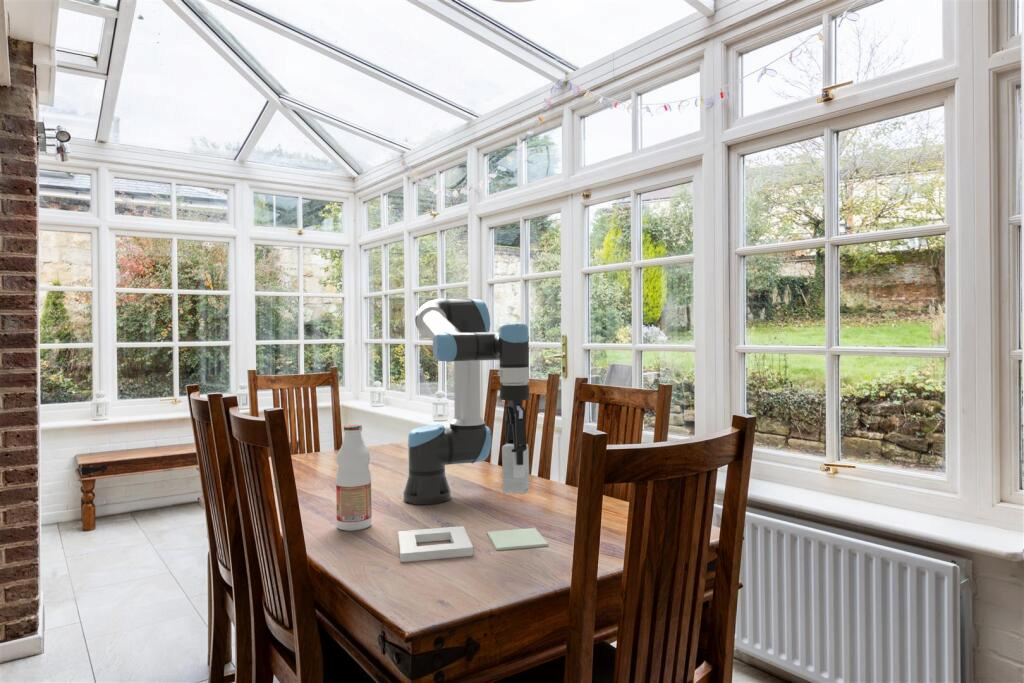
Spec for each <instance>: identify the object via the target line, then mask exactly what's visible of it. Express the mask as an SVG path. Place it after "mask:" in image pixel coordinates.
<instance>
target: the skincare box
mask: <svg viewBox="0 0 1024 683" xmlns="http://www.w3.org/2000/svg"><path fill="white" fill-rule="evenodd" d="M526 447H527V449H526V450H525V451H524V463H525V477H524V478H514V477H513V452H512V451H511V450H512V449H514V444H506V443H505V444H504V445H502V446H501V462H502V466H501V467H502V470H501V471H502V493H503V494H514V495H515V494H519V495H526V494H527V493H528V492H530V458H529V457H530V454H529V453H530V452H529V451H530V450H529V444H528V443H526Z"/></svg>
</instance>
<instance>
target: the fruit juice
mask: <svg viewBox="0 0 1024 683" xmlns="http://www.w3.org/2000/svg"><path fill="white" fill-rule="evenodd" d="M362 431H363V425H362V424H346V425H344V426H343V432H344V438H343V441H342V444H341V446H340V448H339V450H338V451H337V453H336V460H335V461H336V463H337V464H336V465H337V467H338V468H337V472H336V478H335V479H336V480H335V486H336V488H335V489H336V492H335V493H336V499H335V500H336V501H335V502H336V527H337V529H339V530H342V531H346V532H347V531H348V532H349V531H351V532H352V531H353V532H354V531H361V530H364V529H367V528H369V527H370V526H371V525H372V520H373V518H372V516H373V515H372V514H373V512H372V511H373V510H372V475H371V474H372V473H371V470H370V466H369V465H370V460H371V454H370V451H369V449H368V448H367V446H366V444H365V442H364V438H363V437H362Z"/></svg>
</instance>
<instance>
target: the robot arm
mask: <svg viewBox="0 0 1024 683" xmlns="http://www.w3.org/2000/svg"><path fill="white" fill-rule="evenodd" d="M414 322H415V326H416V328H417V330H418V331H419V332H420V333H421V334H422V335H423V336H424V337H425V336H426V337H428V338H429V339H431V341H432V353H433V358H434V359H435V360H436V361H438V362H445V363H446V362H447V363H450V362H453V372H454V373H453V377H454V378H453V381H454V382H453V384H454V385H453V392H454V397H453V399H454V400H453V401H454V403H453V404H454V406H453V407H454V412H453V413H454V417H453V418H452V420H451V421H450V422H449V428H446V427H445V425H443V424H440V423H438V424H430V425H424V426H419V427H415V428H413V429H412V430H410V432H409V433H408V437H407V438H408V440H407V447H408V449H407V451H408V452H407V453H408V477H407V480H406V483H405V484H406V485H405V486H404V487H405V488H404V491H403V501H404V502H405V501H406V502H405V503H407V502H409V503H408V504H411V503H414V504H413V505H421V504H425V505H435V504H434V503H436V504H441V503H445V502H447V501H450V500H451V499H452V496H451V494H452V493H451V492H452V491H451V489H450V485H449V482H448V480H447V476H446V466H448V465H449V466H450V465H460V464H461V465H462V464H475V463H482V462H484V461H486V459H487V458H488V457H489V454H490V452H491V447H492V446H491V445H492V432H491V429H490V427H489V426H487V425H486V421H485V420H484V419H483V418H482V416H481V361H499V371H497V375H498V376H499V383H501V385H500V386H499V399H500V400H502V401H507V404H506V405H504V414H505V416H504V418H505V419H504V420H505V422H504V423H505V425H504V426H505V428H504V429H505V430H504V434H505V435H504V437H505V438H504V442H505V445H506V444H514V449H512V450H511V451H512V452H513V477H514V478H524V477H525V463H524V451H525V450H526V449H527V447H526V444H527V427H526V426H527V425H526V424H527V423H526V418H527V417H526V416H527V411H526V409H525V408H524V406H523V403H522V402H523V401H527V400H529V399H530V385H529V384H528V383H530V356H529V355H530V354H529V352H530V348H529V342H530V336H529V327H528V325H527V324H525V323H501V324H500V325H499V326H498V331H492V332H491V331H490V330H491V329H490V328H491V316H490V312H489V308H488V306H487V304H486V302H484V300H482V299H479V298H477V299H476V298H435V299H432V300H430V301H426V302H425V303H424V304H422V305H421V306H420V307H419V309H417V311H416V314H415V317H414ZM444 501H445V502H444Z"/></svg>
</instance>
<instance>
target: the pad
mask: <svg viewBox="0 0 1024 683" xmlns="http://www.w3.org/2000/svg"><path fill="white" fill-rule="evenodd" d="M486 534H488V535H487V536H488V538H489V540H490V542H491V541H492V542H491V543H492V546H493V547H494V548H495V550H496V551H497V550H498V551H506V550H508V551H509V550H516V549H519V550H520V549H528V548H529V549H531V548H538V547H539V548H541V547H549V542H547V540H546V539H545V538H544V537H543V536H542V534H541V533H540V532H539V530H538V529H537V528H536V527H530V528H529V527H528V528H517V529H507V530H506V529H505V530H504V529H503V530H494V531H492V530H491V531H487V532H486Z"/></svg>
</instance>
